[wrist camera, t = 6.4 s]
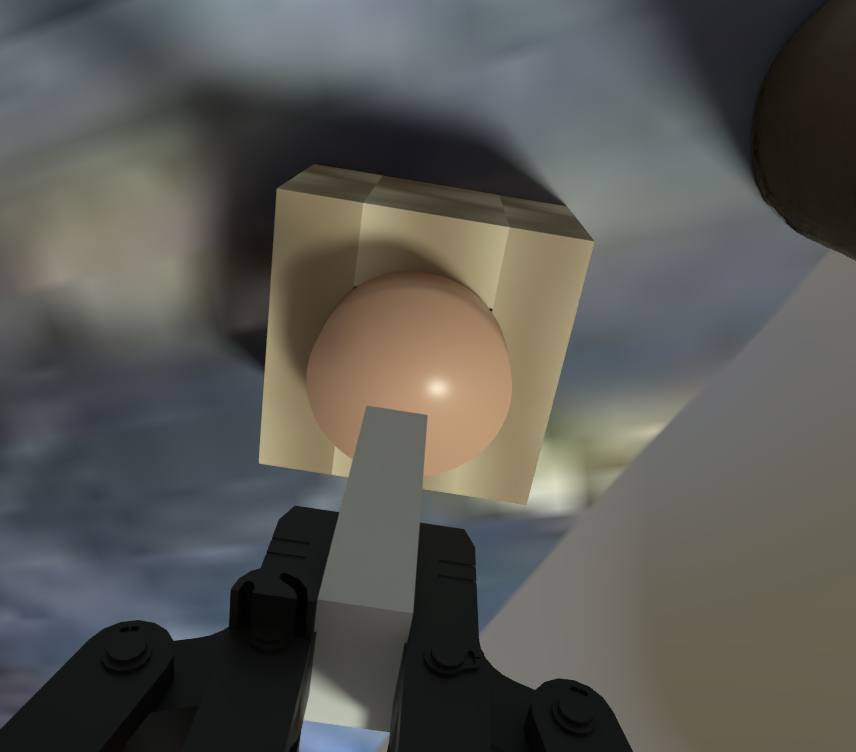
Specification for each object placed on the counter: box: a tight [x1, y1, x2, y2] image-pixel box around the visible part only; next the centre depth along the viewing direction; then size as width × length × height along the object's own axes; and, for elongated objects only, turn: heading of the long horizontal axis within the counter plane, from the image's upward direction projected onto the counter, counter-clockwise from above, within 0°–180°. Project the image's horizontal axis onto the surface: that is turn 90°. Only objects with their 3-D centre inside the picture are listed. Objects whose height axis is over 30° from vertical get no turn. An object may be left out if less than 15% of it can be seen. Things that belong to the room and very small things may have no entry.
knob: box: [306, 271, 512, 476], centre depth 25 cm, size 6×6×8 cm
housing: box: [259, 164, 594, 505], centre depth 26 cm, size 10×10×6 cm
